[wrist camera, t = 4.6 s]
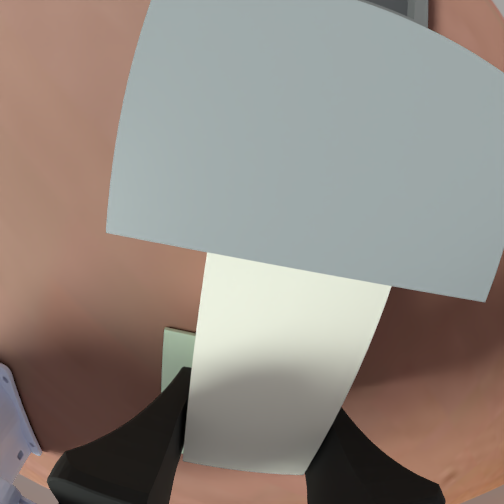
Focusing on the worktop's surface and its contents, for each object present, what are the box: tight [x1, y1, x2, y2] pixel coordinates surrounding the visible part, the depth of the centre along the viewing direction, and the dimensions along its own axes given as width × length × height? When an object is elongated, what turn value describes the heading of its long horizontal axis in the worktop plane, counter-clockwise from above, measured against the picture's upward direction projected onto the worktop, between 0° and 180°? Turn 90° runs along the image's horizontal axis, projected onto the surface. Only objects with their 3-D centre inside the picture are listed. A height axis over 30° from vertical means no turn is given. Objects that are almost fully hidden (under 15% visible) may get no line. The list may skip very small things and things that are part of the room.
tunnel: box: [106, 0, 504, 302], centre depth 7 cm, size 5×8×6 cm, turn 79°
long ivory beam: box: [183, 252, 391, 475], centre depth 10 cm, size 12×4×4 cm, turn 169°
